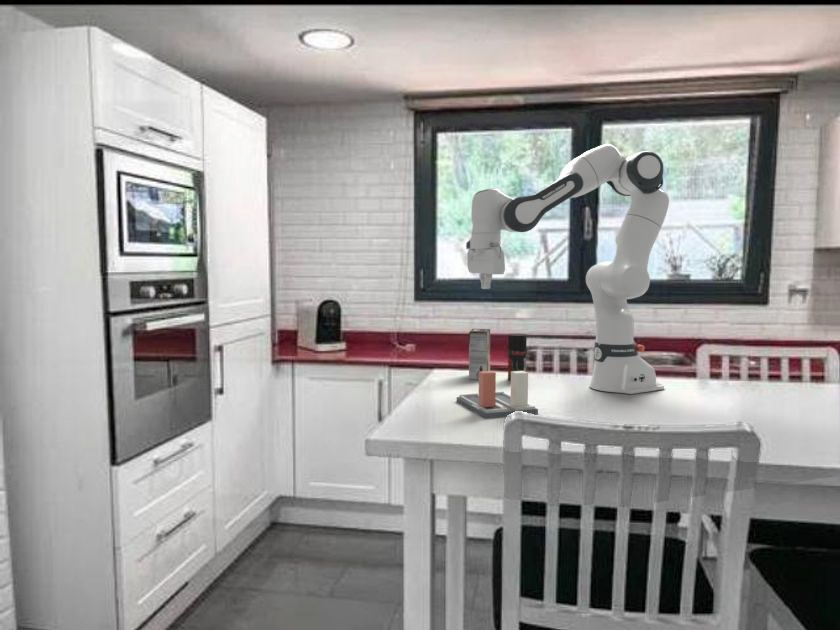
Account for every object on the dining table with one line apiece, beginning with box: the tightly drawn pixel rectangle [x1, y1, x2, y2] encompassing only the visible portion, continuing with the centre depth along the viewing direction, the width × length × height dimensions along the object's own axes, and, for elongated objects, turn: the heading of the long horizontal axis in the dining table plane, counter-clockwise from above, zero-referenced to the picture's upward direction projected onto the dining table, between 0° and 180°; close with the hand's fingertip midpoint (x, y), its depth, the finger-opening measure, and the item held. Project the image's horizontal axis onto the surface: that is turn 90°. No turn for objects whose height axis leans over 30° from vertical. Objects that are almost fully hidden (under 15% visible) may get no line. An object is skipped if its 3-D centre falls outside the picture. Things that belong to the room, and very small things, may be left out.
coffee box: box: [468, 328, 491, 380], centre depth 216 cm, size 9×6×16 cm
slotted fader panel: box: [456, 391, 539, 419], centre depth 174 cm, size 15×20×2 cm
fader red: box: [478, 370, 497, 407], centre depth 169 cm, size 4×3×9 cm
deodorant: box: [507, 333, 528, 381], centre depth 212 cm, size 6×6×15 cm
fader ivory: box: [510, 371, 529, 407], centre depth 169 cm, size 4×3×9 cm
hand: (485, 288), depth 195 cm, fingers closed
